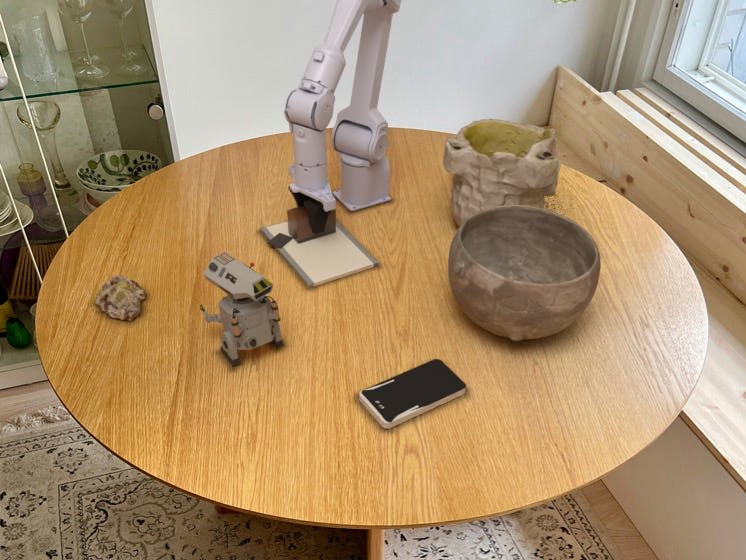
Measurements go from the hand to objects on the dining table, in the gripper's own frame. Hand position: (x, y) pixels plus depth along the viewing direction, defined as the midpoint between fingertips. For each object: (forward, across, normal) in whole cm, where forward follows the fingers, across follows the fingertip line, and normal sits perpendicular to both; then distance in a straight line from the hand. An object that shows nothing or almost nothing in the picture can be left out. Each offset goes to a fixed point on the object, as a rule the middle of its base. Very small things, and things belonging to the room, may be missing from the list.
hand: (312, 226), depth 141 cm
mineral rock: (+2, +3, -38) cm, 38 cm away
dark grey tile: (+1, 0, -7) cm, 7 cm away
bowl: (+2, +37, +18) cm, 41 cm away
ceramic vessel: (+2, +12, +34) cm, 37 cm away
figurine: (+2, +22, -24) cm, 32 cm away
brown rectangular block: (+1, 0, 0) cm, 1 cm away
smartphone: (+2, +45, -7) cm, 46 cm away
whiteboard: (+2, +4, -1) cm, 5 cm away
